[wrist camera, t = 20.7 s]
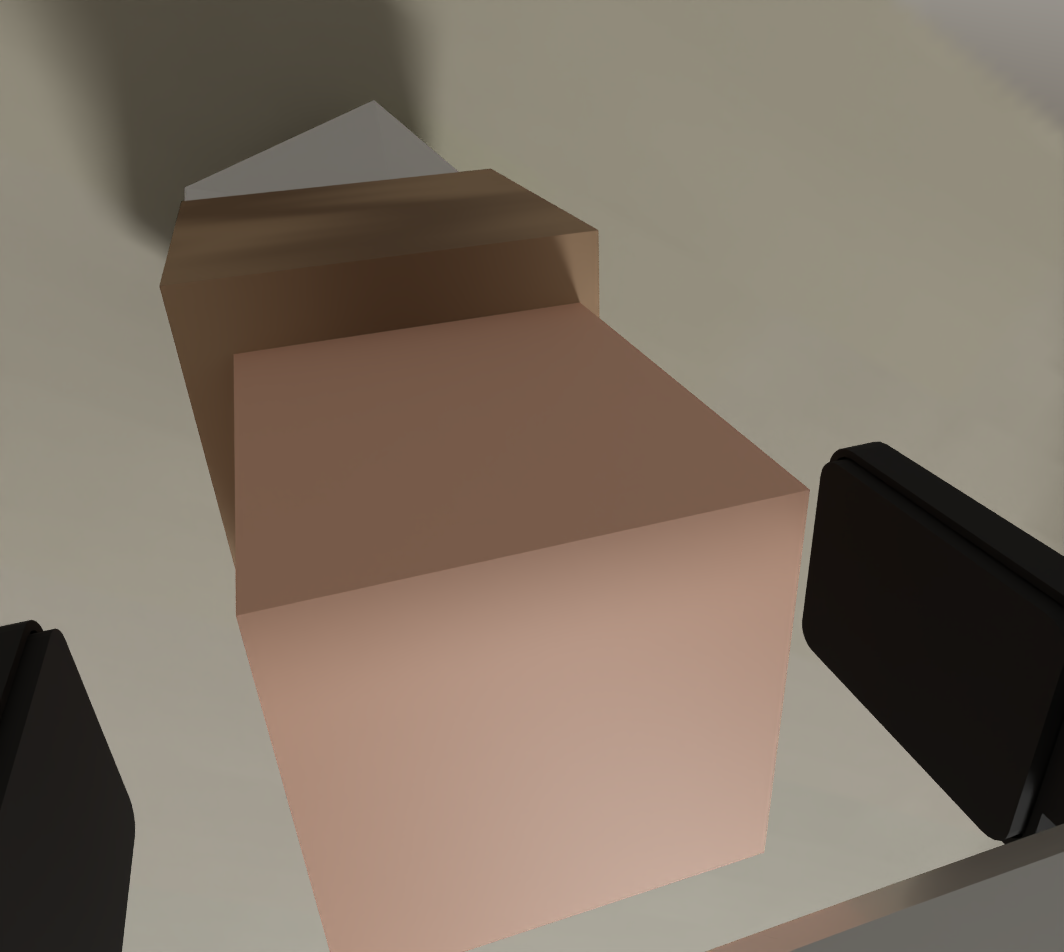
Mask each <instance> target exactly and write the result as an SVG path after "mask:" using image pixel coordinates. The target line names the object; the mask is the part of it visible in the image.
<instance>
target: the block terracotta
mask: <svg viewBox="0 0 1064 952" xmlns="http://www.w3.org/2000/svg"><path fill="white" fill-rule="evenodd" d="M233 356H234V457H235V558H236V617H237V621H238V624H239V628H240V632H241V635H242V639H243V642H244V646H245V649H246V653H247V657H248V660H249V664H250V667H251V671H252V675H253V678H254V682H255V685H256V689H257V692H258V696H259V700H260V703H261V707H262V710H263V714H264V717H265V721H266V725H267V728H268V732H269V735H270V739H271V742H272V746H273V750H274V753H275V757H276V760H277V764H278V768H279V771H280V775H281V778H282V782H283V785H284V789H285V793H286V796H287V800H288V803H289V807H290V810H291V814H292V818H293V821H294V825H295V828H296V832H297V835H298V839H299V843H300V846H301V850H302V853H303V857H304V860H305V864H306V868H307V871H308V875H309V878H310V882H311V886H312V889H313V893H314V896H315V900H316V903H317V907H318V911H319V914H320V918H321V921H322V925H323V928H324V932H325V936H326V939H327V943H328V946H329V950H330V952H465V951H468V950H471V949H474V948H477V947H480V946H483V945H486V944H489V943H492V942H495V941H498V940H501V939H504V938H507V937H510V936H513V935H516V934H519V933H522V932H525V931H528V930H531V929H534V928H537V927H540V926H543V925H546V924H549V923H553V922H556V921H559V920H562V919H565V918H568V917H571V916H574V915H577V914H580V913H583V912H586V911H589V910H592V909H595V908H598V907H601V906H604V905H607V904H610V903H613V902H616V901H619V900H622V899H625V898H628V897H631V896H634V895H637V894H640V893H643V892H646V891H649V890H652V889H655V888H658V887H661V886H665V885H668V884H671V883H674V882H677V881H680V880H683V879H686V878H689V877H692V876H695V875H698V874H701V873H704V872H707V871H710V870H713V869H716V868H719V867H722V866H725V865H728V864H731V863H734V862H737V861H740V860H743V859H746V858H749V857H752V856H755V855H758V854H761V853H764V851H765V843H766V835H767V827H768V819H769V811H770V803H771V795H772V787H773V779H774V771H775V763H776V755H777V747H778V739H779V731H780V723H781V715H782V707H783V699H784V691H785V683H786V675H787V667H788V659H789V651H790V644H791V636H792V628H793V620H794V612H795V604H796V596H797V588H798V580H799V572H800V564H801V556H802V548H803V540H804V532H805V524H806V516H807V508H808V500H809V492H810V489H808V488H807V487H806V486H805V485H803V484H802V483H801V482H800V481H799V480H797V479H796V478H795V477H794V476H792V475H791V474H790V473H789V472H787V471H786V470H785V469H784V468H783V467H781V466H780V465H779V464H778V463H776V462H775V461H774V460H773V459H772V458H770V457H769V456H768V455H767V454H765V453H764V452H763V451H762V450H760V449H759V448H758V447H757V446H756V445H754V444H753V443H752V442H751V441H749V440H748V439H747V438H746V437H745V436H743V435H742V434H741V433H740V432H738V431H737V430H736V429H735V428H733V427H732V426H731V425H730V424H729V423H727V422H726V421H725V420H724V419H722V418H721V417H720V416H719V415H718V414H716V413H715V412H714V411H713V410H711V409H710V408H709V407H708V406H706V405H705V404H704V403H703V402H702V401H700V400H699V399H698V398H697V397H695V396H694V395H693V394H692V393H691V392H689V391H688V390H687V389H686V388H684V387H683V386H682V385H681V384H679V383H678V382H677V381H676V380H675V379H673V378H672V377H671V376H670V375H668V374H667V373H666V372H665V371H664V370H662V369H661V368H660V367H659V366H657V365H656V364H655V363H654V362H652V361H651V360H650V359H649V358H648V357H646V356H645V355H644V354H643V353H641V352H640V351H639V350H638V349H637V348H635V347H634V346H633V345H632V344H630V343H629V342H628V341H627V340H626V339H624V338H623V337H622V336H621V335H619V334H618V333H617V332H616V331H614V330H613V329H612V328H611V327H610V326H608V325H607V324H606V323H605V322H603V321H602V320H601V319H600V318H599V317H597V316H596V315H595V314H594V313H592V312H591V311H590V310H589V309H587V308H586V307H585V306H584V305H583V304H581V303H580V302H579V303H573V304H566V305H559V306H552V307H546V308H539V309H532V310H526V311H519V312H512V313H506V314H499V315H492V316H485V317H479V318H472V319H465V320H459V321H452V322H445V323H439V324H432V325H425V326H419V327H412V328H405V329H398V330H392V331H385V332H378V333H372V334H365V335H358V336H352V337H345V338H338V339H332V340H325V341H318V342H311V343H305V344H298V345H291V346H285V347H278V348H271V349H265V350H258V351H251V352H245V353H238V354H233Z"/></svg>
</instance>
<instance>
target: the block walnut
mask: <svg viewBox="0 0 1064 952" xmlns="http://www.w3.org/2000/svg"><path fill="white" fill-rule="evenodd" d="M160 290H161V294H162V297H163V301H164V305H165V309H166V312H167V316H168V320H169V323H170V327H171V331H172V335H173V338H174V342H175V346H176V350H177V353H178V357H179V361H180V364H181V368H182V372H183V376H184V379H185V383H186V387H187V391H188V394H189V398H190V402H191V405H192V409H193V413H194V417H195V420H196V424H197V428H198V432H199V435H200V439H201V443H202V446H203V450H204V454H205V458H206V461H207V465H208V469H209V473H210V476H211V480H212V484H213V487H214V491H215V495H216V499H217V502H218V506H219V510H220V513H221V517H222V521H223V525H224V528H225V532H226V536H227V540H228V543H229V547H230V551H231V554H232V558H233V562H234V566H235V569H236V558H235V457H234V356H233V354H238V353H245V352H251V351H258V350H265V349H271V348H278V347H285V346H291V345H298V344H305V343H311V342H318V341H325V340H332V339H338V338H345V337H352V336H358V335H365V334H372V333H378V332H385V331H392V330H398V329H405V328H412V327H419V326H425V325H432V324H439V323H445V322H452V321H459V320H465V319H472V318H479V317H485V316H492V315H499V314H506V313H512V312H519V311H526V310H532V309H539V308H546V307H552V306H559V305H566V304H573V303H579V302H580V303H581V304H583V305H584V306H585V307H586V308H587V309H589V310H590V311H591V312H592V313H594V314H595V315H596V316H597V317H599V244H598V230H597V229H595V228H594V227H592V226H590V225H588V224H587V223H585V222H583V221H581V220H580V219H578V218H576V217H574V216H573V215H571V214H569V213H567V212H566V211H564V210H562V209H560V208H559V207H557V206H555V205H553V204H552V203H550V202H548V201H546V200H545V199H543V198H541V197H539V196H538V195H536V194H534V193H532V192H531V191H529V190H527V189H525V188H524V187H522V186H520V185H518V184H517V183H515V182H513V181H511V180H510V179H508V178H506V177H504V176H503V175H501V174H499V173H497V172H496V171H494V170H492V169H483V170H474V171H464V172H455V173H445V174H436V175H426V176H417V177H407V178H398V179H388V180H379V181H369V182H360V183H350V184H341V185H331V186H322V187H312V188H303V189H293V190H284V191H274V192H265V193H255V194H246V195H236V196H227V197H217V198H208V199H198V200H189V201H181V205H180V209H179V213H178V217H177V220H176V224H175V228H174V232H173V236H172V240H171V243H170V247H169V251H168V255H167V259H166V263H165V267H164V270H163V274H162V278H161V282H160Z"/></svg>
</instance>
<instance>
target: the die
mask: <svg viewBox="0 0 1064 952" xmlns="http://www.w3.org/2000/svg"><path fill="white" fill-rule="evenodd" d="M455 172H458V171H457V170H456V169H455V168H454V167H453V166H451V165H450V164H449V163H448V162H447V161H445V160H444V159H443V158H442V157H441V156H440V155H438V154H437V153H436V152H435V151H434V150H432V149H431V148H430V147H429V146H428V145H427V144H425V143H424V142H423V141H422V140H421V139H419V138H418V137H417V136H416V135H415V134H414V133H412V132H411V131H410V130H409V129H408V128H407V127H405V126H404V125H403V124H402V123H401V122H399V121H398V120H397V119H396V118H395V117H394V116H392V115H391V114H390V113H389V112H388V111H386V110H385V109H384V108H383V107H382V106H381V105H379V104H378V103H377V102H376V101H375V100H373V101H371V102H369V103H366V104H364V105H362V106H360V107H358V108H356V109H353V110H351V111H349V112H347V113H345V114H343V115H340V116H338V117H336V118H334V119H332V120H330V121H327V122H325V123H323V124H321V125H319V126H317V127H315V128H312V129H310V130H308V131H306V132H304V133H302V134H299V135H297V136H295V137H293V138H291V139H289V140H286V141H284V142H282V143H280V144H278V145H276V146H273V147H271V148H269V149H267V150H265V151H263V152H260V153H258V154H256V155H254V156H252V157H250V158H248V159H245V160H243V161H241V162H239V163H237V164H235V165H232V166H230V167H228V168H226V169H224V170H222V171H219V172H217V173H215V174H213V175H211V176H209V177H206V178H204V179H202V180H200V181H198V182H196V183H193V184H191V185H189V186H187V187H185V201H189V200H198V199H208V198H217V197H227V196H236V195H246V194H255V193H265V192H274V191H284V190H293V189H303V188H312V187H322V186H331V185H341V184H350V183H360V182H369V181H379V180H388V179H398V178H407V177H417V176H426V175H436V174H445V173H455Z"/></svg>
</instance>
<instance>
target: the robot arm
mask: <svg viewBox="0 0 1064 952" xmlns="http://www.w3.org/2000/svg"><path fill="white" fill-rule="evenodd" d="M802 629H803V634H804V637H805V640H806V642H807V644H808V646H809V647H810V648H811V650H812V651H813V652H814V653H815V654H816V655H817V656H818V657H819V658H820V659H821V660H822V662H823V663H824V664H825V665H826V666H827V667H828V668H829V669H830V670H831V671H832V672H833V673H834V674H835V675H836V676H837V678H838V679H839V680H840V681H841V682H842V683H843V684H844V685H845V686H846V687H847V688H848V689H849V690H850V691H851V692H852V693H853V695H854V696H855V697H856V698H857V699H858V700H859V701H860V702H861V703H862V704H863V705H864V706H865V707H866V708H867V709H868V710H869V712H870V713H871V714H872V715H873V716H874V717H875V718H876V719H877V720H878V721H879V722H880V723H881V724H882V725H883V726H884V728H885V729H886V730H887V731H888V732H889V733H890V734H891V735H892V736H893V737H894V738H895V739H896V740H897V741H898V742H899V743H900V745H901V746H902V747H903V748H904V749H905V750H906V751H907V752H908V753H909V754H910V755H911V756H912V757H913V758H914V759H915V760H916V762H917V763H918V764H919V765H920V766H921V767H922V768H923V769H924V770H925V771H926V772H927V773H928V774H929V775H930V776H931V778H932V779H933V780H934V781H935V782H936V783H937V784H938V785H939V786H940V787H941V788H942V789H943V790H944V791H945V792H946V793H947V795H948V796H949V797H950V798H951V799H952V800H953V801H954V802H955V803H956V804H957V805H958V806H959V807H960V808H961V809H962V811H963V812H964V813H965V814H966V815H967V816H968V817H969V818H970V819H971V820H972V821H973V822H974V823H975V824H976V825H977V826H978V828H979V829H980V830H981V831H982V832H984V833H985V834H986V835H987V836H988V837H990V838H992V839H994V840H999V841H1002V842H1003V843H1004V844H1005V845H1002V846H999V847H996V848H994V849H991V850H988V851H985V852H982V853H980V854H977V855H974V856H971V857H968V858H965V859H963V860H960V861H957V862H954V863H951V864H948V865H946V866H943V867H940V868H937V869H934V870H932V871H929V872H926V873H923V874H920V875H917V876H915V877H912V878H909V879H906V880H903V881H900V882H898V883H895V884H892V885H889V886H886V887H884V888H881V889H878V890H875V891H873V892H870V893H867V894H864V895H861V896H859V897H856V898H853V899H850V900H848V901H845V902H842V903H839V904H836V905H834V906H831V907H828V908H825V909H823V910H820V911H817V912H814V913H811V914H809V915H806V916H803V917H800V918H798V919H795V920H792V921H789V922H786V923H784V924H781V925H778V926H775V927H773V928H770V929H767V930H764V931H761V932H759V933H756V934H753V935H750V936H748V937H745V938H742V939H739V940H737V941H734V942H731V943H728V944H725V945H723V946H720V947H717V948H714V949H712V950H709V951H706V952H1064V556H1062V555H1061V554H1059V553H1058V552H1056V551H1054V550H1053V549H1051V548H1050V547H1048V546H1046V545H1045V544H1043V543H1042V542H1040V541H1039V540H1037V539H1035V538H1034V537H1032V536H1031V535H1029V534H1027V533H1026V532H1024V531H1023V530H1021V529H1020V528H1018V527H1016V526H1015V525H1013V524H1012V523H1010V522H1008V521H1007V520H1005V519H1004V518H1002V517H1001V516H999V515H997V514H996V513H994V512H993V511H991V510H989V509H988V508H986V507H985V506H983V505H982V504H980V503H978V502H977V501H975V500H974V499H972V498H971V497H969V496H967V495H966V494H964V493H963V492H961V491H959V490H958V489H956V488H955V487H953V486H952V485H950V484H948V483H947V482H945V481H944V480H942V479H940V478H939V477H937V476H936V475H934V474H933V473H931V472H929V471H928V470H926V469H925V468H923V467H921V466H920V465H918V464H917V463H915V462H914V461H912V460H910V459H909V458H907V457H906V456H904V455H902V454H901V453H899V452H898V451H896V450H895V449H893V448H891V447H890V446H888V445H887V444H884V443H882V442H871V443H867V444H862V445H857V446H852V447H848V448H843V449H839V450H838V451H836V452H834V454H833V456H832V457H831V459H830V462H829V463H827V464H826V465H825V466H824V467H823V469H822V472H821V477H820V485H819V493H818V501H817V509H816V516H815V524H814V532H813V540H812V548H811V556H810V564H809V572H808V580H807V587H806V595H805V603H804V611H803V619H802ZM134 839H135V821H134V813H133V808H132V804H131V801H130V798H129V796H128V793H127V791H126V788H125V786H124V784H123V781H122V779H121V776H120V774H119V771H118V769H117V766H116V764H115V761H114V759H113V756H112V754H111V751H110V749H109V746H108V744H107V742H106V739H105V737H104V734H103V732H102V729H101V727H100V724H99V722H98V719H97V717H96V714H95V712H94V709H93V707H92V704H91V702H90V700H89V697H88V695H87V692H86V690H85V687H84V685H83V682H82V680H81V677H80V675H79V672H78V670H77V667H76V665H75V662H74V660H73V657H72V655H71V653H70V650H69V648H68V645H67V643H66V640H65V638H64V636H63V634H62V633H61V632H60V630H58V629H52V630H47V631H43V630H42V628H41V626H40V625H39V624H38V623H37V622H36V621H34V620H29V621H24V622H19V623H15V624H10V625H5V626H1V627H0V952H122V945H123V936H124V927H125V918H126V910H127V901H128V892H129V883H130V874H131V865H132V856H133V847H134Z"/></svg>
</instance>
